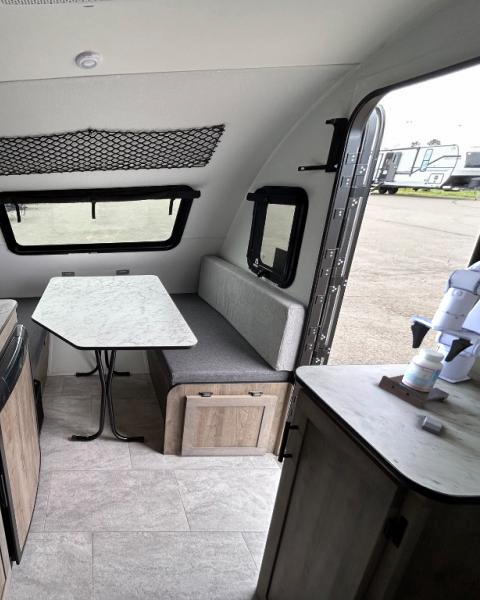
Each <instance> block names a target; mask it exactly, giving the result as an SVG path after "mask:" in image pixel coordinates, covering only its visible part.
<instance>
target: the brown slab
mask: <svg viewBox="0 0 480 600" xmlns="http://www.w3.org/2000/svg"><path fill="white" fill-rule="evenodd" d="M404 375H405V374H402V375H401V374H400V375H396V376H391V377H389V376H387V375H382V376H381V378H380V381H379V383H378V387H379V388H381V390H382V389H383V390H384V391H386V392H387V393H389V394H392V395H394V396H396V397H397V398H399V399H401V400H403V401H405V402H406V403H409V404H410V405H412V406H414V407H416V408H418V409H420V408H421V409H422V408H423V407H424V405H425V404H426V403H427V402H431V401H435V400H436V401H439V402H441V403H443V402H446V401H447V399H448V398H449V396H450V393H448V392H446V391H444V390H442V389H440V388H438V387H434V386H435V385H434V386H433V388H432V390H431V391H429V392H423V391H418V390H415V389H412V388H410V387H409V386H407V385H405V384H404V383H403V381H402V380H403V378H404Z"/></svg>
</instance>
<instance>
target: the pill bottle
mask: <svg viewBox="0 0 480 600" xmlns="http://www.w3.org/2000/svg"><path fill="white" fill-rule="evenodd" d="M444 357H445V356H444V354H442V353H440V352H438V350H435V349H431V348H425V347H424V348H421V349H420V351H419V354H417V355H415V356H414V357H412V359H411V361H410V364H409V366H408V367H407V369H406V372H405V374H403V375H404V378H403V380H402V381H403V383H404V384H405V385H407V386H409V387H410V388H412V389H415V390H418V391H423V392H429V391H431V390H432V388H434V387H433V386H435V384H436V382H437V380H438V378H439V377H438V376H439V375H440V373H441V371H442V369H443V364H442V363H441V362H440V361H442V360H443V359H444Z"/></svg>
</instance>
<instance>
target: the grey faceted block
mask: <svg viewBox="0 0 480 600" xmlns="http://www.w3.org/2000/svg"><path fill="white" fill-rule="evenodd" d="M420 428H421V429H422V430H424V431H427V432H429V433H432V434H434V435H436V436H439V434H440V432H441V430H442V428H443V422H442V421H439V420H436V419H435V418H431V417H430V416H427V415H424V416H423V417H422V422H421V426H420Z"/></svg>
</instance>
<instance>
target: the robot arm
mask: <svg viewBox="0 0 480 600" xmlns="http://www.w3.org/2000/svg"><path fill="white" fill-rule="evenodd" d="M479 296H480V260H479V261H477V262H475V263H473V264H472V265H470V266H469V267H467V268H461V269H456V270H454V271H453V272H452V273H451V274H450V275H449V277H448V278H447V281H446V285H445V289H444V297H443V298H442V299H441V300H442V301H441V302H440V305H439V307H438V308H437V311H436V313H435V315H434V317H433V319H430V318H427V317H422V316H418V315H413V316H411V318H410V321H409V323H412V324H411V325H410V330H411V334H412V345H411V348H412V349H414V350H415V349H419V348H420V347H421V345H422V343H423V341H424V339H425V337H426V335H427V334H428V333H429V331H430V330H435V331H437V334H436V337H435V342H436V343H437V344H438V345H437V347H438V350H437V351H438V352H440V353H442V354H444V356H445V357H444V359H443V360H442V361H440V362H441V363H442V364H443V369H442V371H441V373H440V375H439V376H438V378H440V379H443V380H444V381H446V382H449V383H451V384H455V383H459V382H464V381H468V380H471V377H470V376H468V374H469V372H470V370H471V369H472V367H473V365H474V364H475V362H476V358H477V357H480V299H479V300H478V301H477V299H478V298H479Z"/></svg>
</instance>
